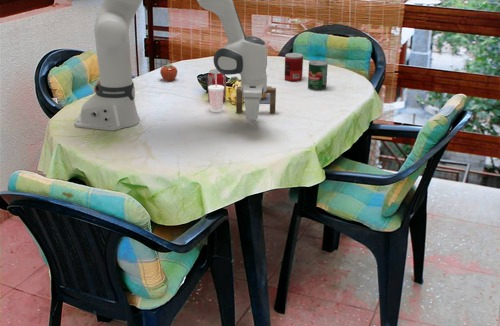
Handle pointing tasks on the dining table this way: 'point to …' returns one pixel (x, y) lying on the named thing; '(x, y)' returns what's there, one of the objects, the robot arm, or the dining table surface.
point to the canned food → (293, 67)
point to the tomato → (168, 72)
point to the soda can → (220, 80)
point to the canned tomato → (317, 75)
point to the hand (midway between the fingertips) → (253, 123)
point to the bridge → (269, 90)
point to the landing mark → (265, 100)
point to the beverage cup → (216, 96)
